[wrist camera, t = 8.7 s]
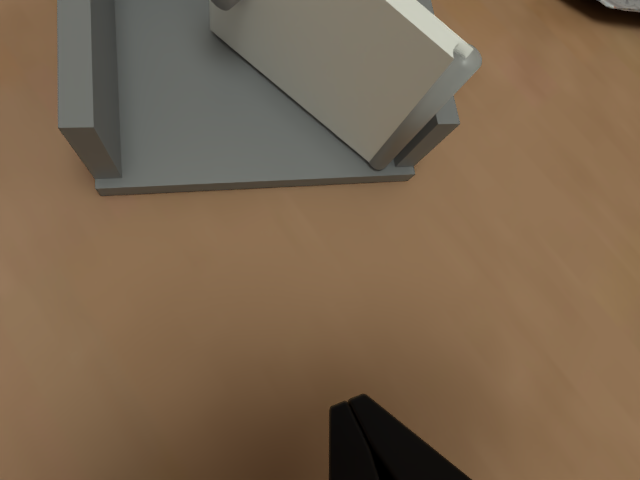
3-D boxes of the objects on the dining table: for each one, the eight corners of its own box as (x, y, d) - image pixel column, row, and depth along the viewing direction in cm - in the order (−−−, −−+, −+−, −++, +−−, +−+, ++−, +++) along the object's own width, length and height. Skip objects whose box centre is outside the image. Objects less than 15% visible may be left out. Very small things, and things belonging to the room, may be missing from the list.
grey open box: (407, 180, 25) (469, 127, 19) (100, 195, 21) (52, 132, 15) (360, -57, 29) (399, -165, 23) (92, -87, 25) (51, -232, 19)
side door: (391, 159, 24) (487, 57, 16) (369, 187, 23) (458, 95, 15) (223, 18, 24) (226, -165, 15) (195, 41, 23) (182, -138, 14)
